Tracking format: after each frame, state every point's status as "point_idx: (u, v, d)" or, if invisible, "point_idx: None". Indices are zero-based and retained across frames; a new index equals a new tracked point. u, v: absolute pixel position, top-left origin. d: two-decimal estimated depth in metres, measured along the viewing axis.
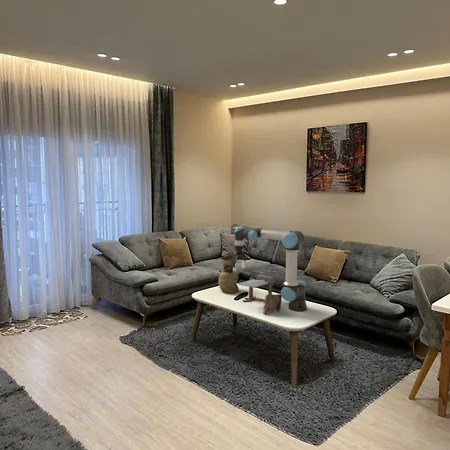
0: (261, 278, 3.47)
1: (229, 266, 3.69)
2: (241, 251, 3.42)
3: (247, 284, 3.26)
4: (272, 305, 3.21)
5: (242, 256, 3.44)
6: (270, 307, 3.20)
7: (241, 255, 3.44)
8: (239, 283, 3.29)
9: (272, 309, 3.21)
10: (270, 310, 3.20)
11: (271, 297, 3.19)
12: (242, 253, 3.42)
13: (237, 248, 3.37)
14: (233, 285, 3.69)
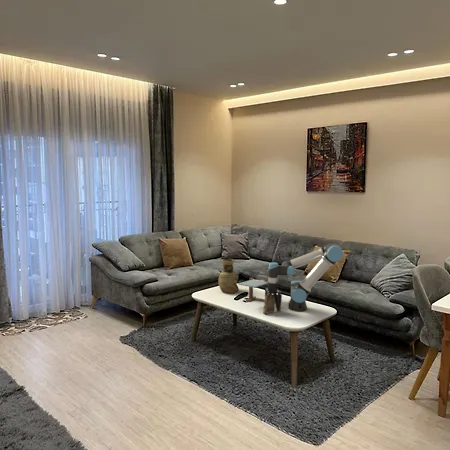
0: (261, 278, 3.47)
1: (229, 266, 3.69)
2: (274, 289, 3.15)
3: (247, 284, 3.26)
4: (272, 305, 3.21)
5: (274, 296, 3.16)
6: (270, 307, 3.20)
7: (274, 294, 3.16)
8: (239, 283, 3.29)
9: (272, 309, 3.21)
10: (270, 310, 3.20)
11: (271, 297, 3.19)
12: (274, 292, 3.14)
13: None
14: (233, 285, 3.69)
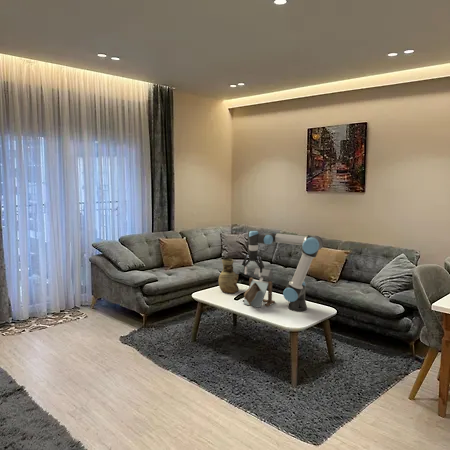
0: None
1: (229, 266, 3.69)
2: (254, 257, 3.27)
3: (251, 302, 3.34)
4: (252, 292, 3.33)
5: None
6: (252, 295, 3.33)
7: (256, 261, 3.27)
8: (244, 303, 3.37)
9: (254, 294, 3.35)
10: (253, 296, 3.35)
11: (248, 290, 3.28)
12: (254, 259, 3.26)
13: None
14: (233, 285, 3.69)
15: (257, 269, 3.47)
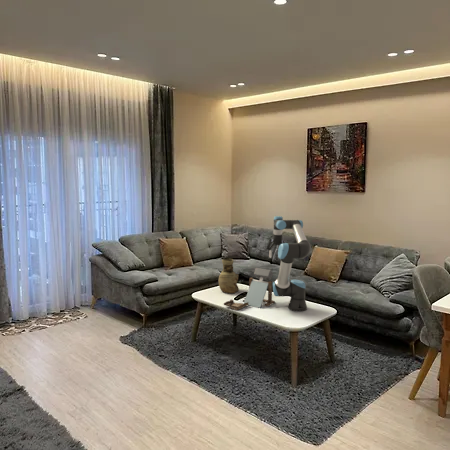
0: (259, 275, 3.44)
1: (229, 266, 3.69)
2: (279, 241, 3.43)
3: (251, 303, 3.35)
4: (235, 305, 3.34)
5: None
6: (238, 305, 3.34)
7: None
8: None
9: (237, 304, 3.37)
10: (240, 304, 3.36)
11: None
12: (279, 243, 3.42)
13: None
14: (233, 285, 3.69)
15: (257, 269, 3.47)
